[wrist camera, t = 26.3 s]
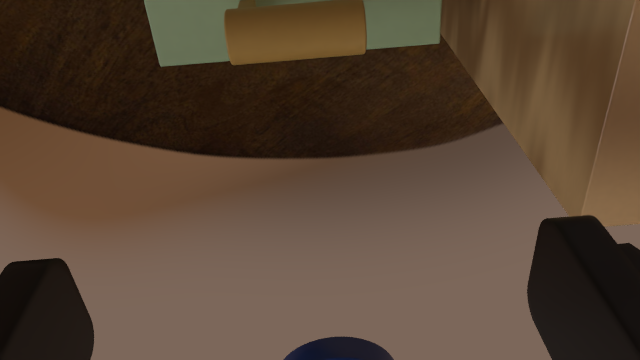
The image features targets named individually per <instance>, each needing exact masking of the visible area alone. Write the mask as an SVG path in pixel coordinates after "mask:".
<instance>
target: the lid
mask: <svg viewBox="0 0 640 360" xmlns="http://www.w3.org/2000/svg"><path fill="white" fill-rule="evenodd" d="M144 3H145V7H146V11H147V15H148V19H149V23H150V27H151V31H152V35H153V39H154V43H155V47H156V51H157V55H158V60H159V64H160V66H173V65H185V64H197V63H209V62H221V61H230V62H231V64H233V65H240V64H252V63H264V62H276V61H288V60H300V59H312V58H323V57H335V56H347V55H359V54H365V52H366V49H377V48H389V47H401V46H413V45H425V44H437V43H439V42H440V30H441V12H442V0H144Z"/></svg>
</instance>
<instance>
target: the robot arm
mask: <svg viewBox="0 0 640 360" xmlns="http://www.w3.org/2000/svg"><path fill="white" fill-rule="evenodd" d="M527 293H528V303H529V308H530V312H531V315H532V319H533V321H534V323H535V325H536V327H537V329H538V331H539V333H540V336H541V338H542V340H543V342H544V344H545V346H546V348H547V350H548V352H549V354H550V356H551V358H552V360H640V250H639V249H638V248H636V247H634V246H633V245H632V244H630V243H625V244H617V243H616V242H615V240H614V239H613V238H612V236H611V235H610V234H609V233H608V231H607V230H606V229H605V227H604V226H603V225H602V223H601V222H600V221H599V220H598V219H597V218H596V217H595V216H592V215H583V216H571V217H559V218H547V219H544V220H543V221H542V222H541V224H540V227H539V230H538V236H537V241H536V246H535V251H534V256H533V261H532V266H531V271H530V276H529V281H528V289H527ZM93 345H94V330H93V324H92V321H91V318H90V315H89V313H88V311H87V309H86V306H85V304H84V302H83V300H82V298H81V295H80V293H79V290H78V288H77V286H76V284H75V282H74V279H73V277H72V275H71V272H70V270H69V268H68V266H67V264H66V263H65V262H64V261H63V260H62V259H59V258H53V259H41V260H29V261H17V262H12V263H10V264H8V265H7V266H6V267H5V268H4V270H3V271H2V273H1V274H0V360H90V358H91V356H92V351H93Z"/></svg>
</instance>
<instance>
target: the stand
mask: <svg viewBox="0 0 640 360" xmlns="http://www.w3.org/2000/svg"><path fill="white" fill-rule="evenodd" d="M440 33H441V35H442V36H443V38H444V39H445V40H446V42H447V43H448V45H449V46H450V48H451V49H452V50H453V52H454V53H455V55H456V56H457V57H458V59H459V60H460V62H461V63H462V65H463V66H464V67H465V69H466V70H467V72H468V73H469V75H470V76H471V77H472V79H473V80H474V82H475V83H476V84H477V86H478V87H479V89H480V90H481V92H482V93H483V94H484V96H485V97H486V99H487V100H488V102H489V103H490V104H491V106H492V107H493V109H494V110H495V112H496V113H497V114H498V116H499V117H500V119H501V120H502V121H503V123H504V124H505V125H506V127H507V129H508V130H509V131H510V133H511V134H512V136H513V137H514V139H515V140H516V141H517V143H518V144H519V146H520V147H521V148H522V150H523V151H524V153H525V154H526V156H527V157H528V158H529V160H530V161H531V163H532V164H533V166H534V167H535V168H536V170H537V171H538V173H539V174H540V175H541V177H542V178H543V180H544V181H545V182H546V184H547V185H548V187H549V188H550V189H551V191H552V192H553V194H554V195H555V197H556V198H557V200H558V201H559V203H560V204H561V205H562V207H563V208H564V209H565V211H566V212H567V214H568V215H569V217H571V216H583V215H592V216H595V217H596V218H597V219H598V220H599V221H600V222H601V223H602V225H603V226H604V227H608V226H620V225H631V224H640V0H442V12H441V30H440Z"/></svg>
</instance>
